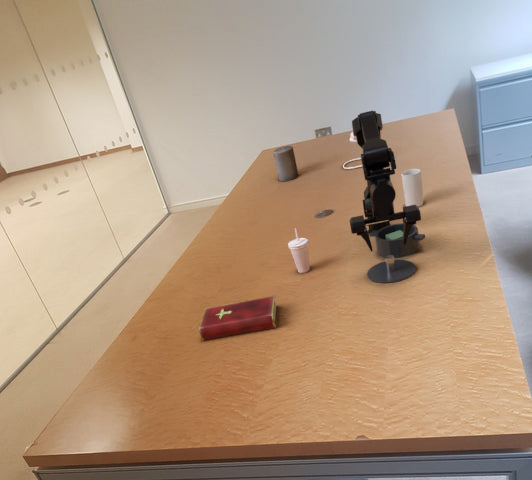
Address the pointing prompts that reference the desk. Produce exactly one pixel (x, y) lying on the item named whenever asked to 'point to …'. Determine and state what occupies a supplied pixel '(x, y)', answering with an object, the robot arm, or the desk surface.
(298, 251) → the smoothie
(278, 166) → the pillar candle
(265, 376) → the desk surface
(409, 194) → the mug
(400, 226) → the pot
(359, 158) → the earphone
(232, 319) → the hardcover book
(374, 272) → the lid
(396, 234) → the block
